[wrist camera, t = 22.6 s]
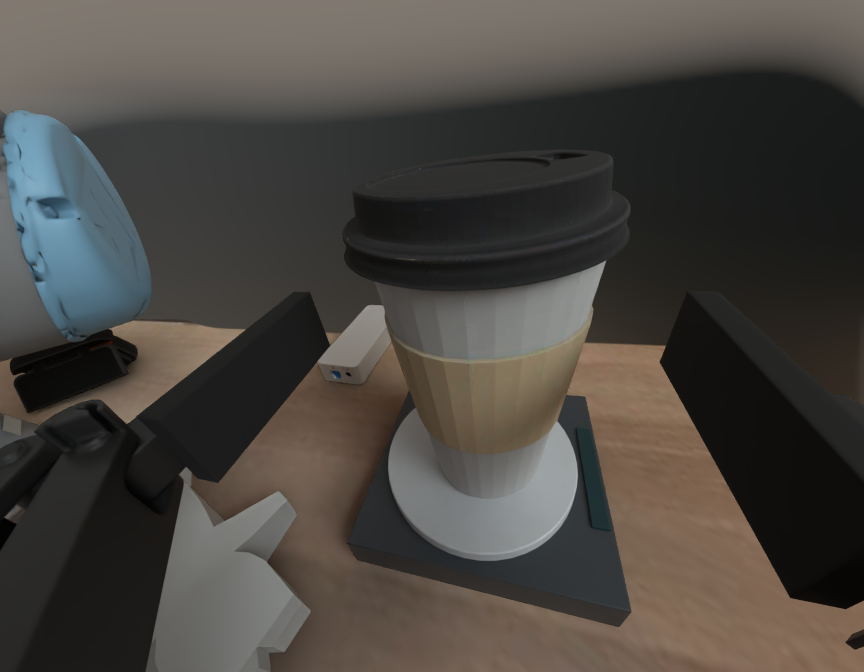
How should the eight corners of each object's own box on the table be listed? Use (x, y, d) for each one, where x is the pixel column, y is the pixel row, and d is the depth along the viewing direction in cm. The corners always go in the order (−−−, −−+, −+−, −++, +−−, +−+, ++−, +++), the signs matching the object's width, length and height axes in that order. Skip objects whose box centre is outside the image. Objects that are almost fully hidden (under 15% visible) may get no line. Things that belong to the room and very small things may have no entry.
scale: (356, 560, 17) (341, 536, 15) (416, 400, 26) (410, 374, 25) (619, 627, 14) (637, 605, 12) (580, 417, 23) (587, 388, 21)
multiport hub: (367, 304, 37) (372, 320, 39) (315, 362, 29) (323, 380, 30) (401, 306, 36) (404, 322, 37) (355, 367, 28) (362, 386, 29)
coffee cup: (606, 460, 17) (717, 140, 8) (479, 588, 13) (445, 229, 4) (487, 375, 24) (482, 149, 15) (379, 442, 20) (290, 188, 11)
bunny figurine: (93, 871, 8) (-50, 553, 14) (189, 831, 11) (39, 585, 17) (338, 527, 15) (170, 408, 21) (356, 563, 18) (206, 451, 24)
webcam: (61, 420, 34) (-2, 410, 29) (56, 372, 36) (-3, 354, 31) (151, 382, 37) (108, 366, 31) (142, 339, 39) (101, 317, 34)
